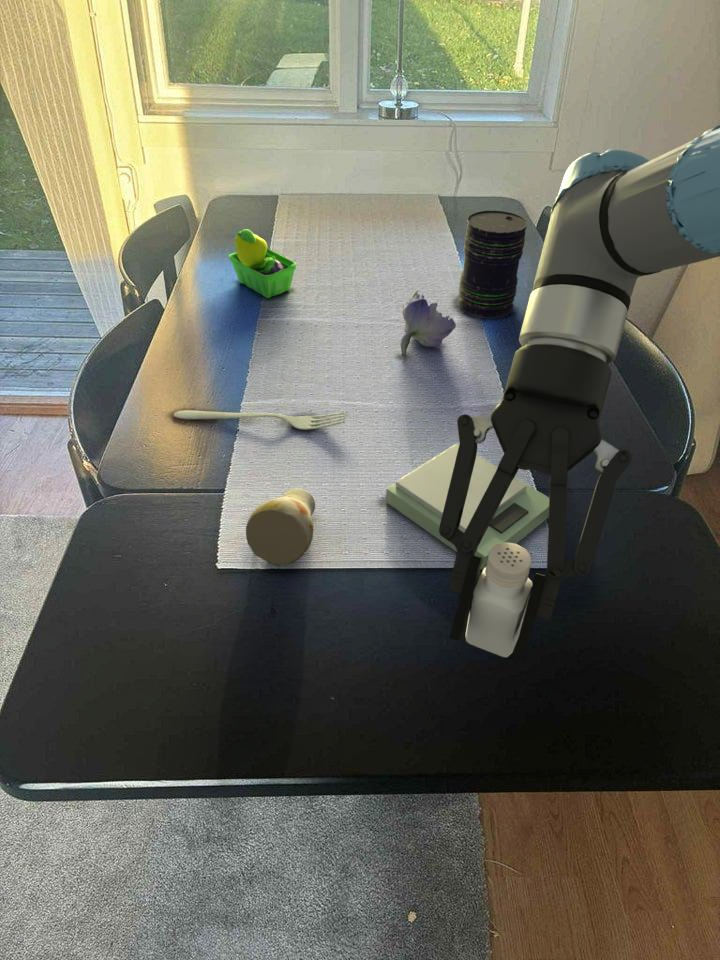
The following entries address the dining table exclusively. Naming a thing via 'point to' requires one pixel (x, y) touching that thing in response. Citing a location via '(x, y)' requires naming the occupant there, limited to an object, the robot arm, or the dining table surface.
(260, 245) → the fruit basket
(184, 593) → the dining table surface
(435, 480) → the scale
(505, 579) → the pepper shaker
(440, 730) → the dining table surface
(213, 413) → the fork
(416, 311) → the flower
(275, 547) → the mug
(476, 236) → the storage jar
